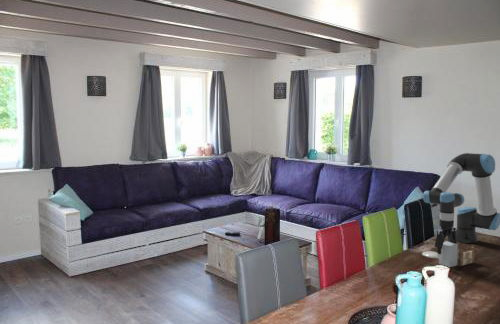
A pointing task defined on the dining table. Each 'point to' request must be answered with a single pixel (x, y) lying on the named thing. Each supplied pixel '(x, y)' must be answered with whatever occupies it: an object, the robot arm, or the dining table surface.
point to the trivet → (430, 254)
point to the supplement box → (449, 254)
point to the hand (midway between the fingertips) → (445, 257)
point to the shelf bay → (466, 256)
